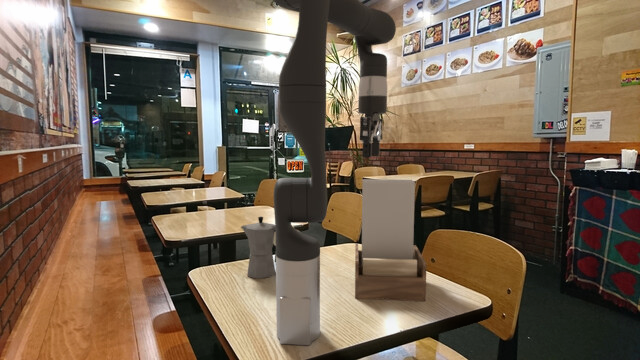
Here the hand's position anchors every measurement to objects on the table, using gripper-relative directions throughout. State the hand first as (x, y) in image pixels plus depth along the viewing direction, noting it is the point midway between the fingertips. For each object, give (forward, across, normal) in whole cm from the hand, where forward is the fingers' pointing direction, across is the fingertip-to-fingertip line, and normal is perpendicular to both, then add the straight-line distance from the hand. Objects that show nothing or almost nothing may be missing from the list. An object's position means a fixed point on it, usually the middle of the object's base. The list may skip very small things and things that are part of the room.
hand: (371, 156), depth 97 cm
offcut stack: (+37, -3, -7) cm, 37 cm away
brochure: (+37, +4, -4) cm, 38 cm away
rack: (+37, +1, -5) cm, 37 cm away
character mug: (+38, +7, +31) cm, 50 cm away
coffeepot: (+38, -3, +32) cm, 50 cm away
